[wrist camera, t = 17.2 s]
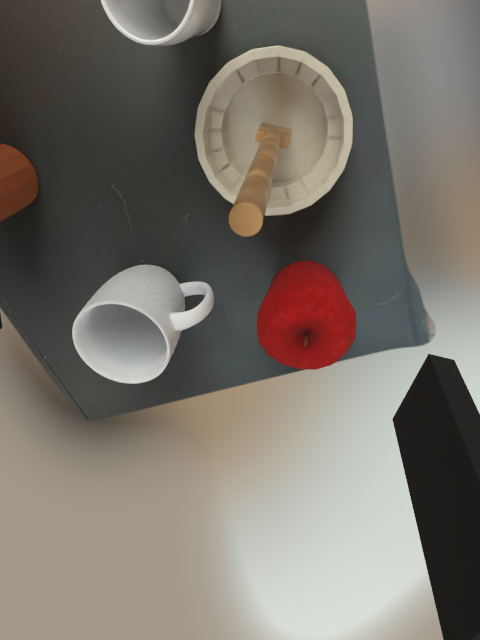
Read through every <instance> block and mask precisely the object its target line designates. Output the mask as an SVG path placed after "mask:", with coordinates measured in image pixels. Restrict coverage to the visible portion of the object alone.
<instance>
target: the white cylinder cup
mask: <svg viewBox="0 0 480 640" xmlns="http://www.w3.org/2000/svg"><path fill="white" fill-rule="evenodd" d="M101 3H102V6H103V8H104V10H105V12H106V14H107V16H108V17H109V19H110V20H111V22H112V23H113V25H114V26H115V27H116V28H117V29H118V30H119V31H120V32H121V33H122V34H123V35H125V36H126V37H128V38H129V39H131V40H133V41H135V42H138V43H141V44H145V45H151V46H170V45H175V44H179V43H181V42H184V41H186V40H188V39H190V38H192V37H194V36H200V35H203V34H205V33H207V32H208V31H209V30H210V29H211V28H212V27H213V26H214V25H215V23H216V22H217V20H218V17H219V14H220V10H221V0H101Z"/></svg>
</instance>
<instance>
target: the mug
mask: <svg viewBox="0 0 480 640" xmlns="http://www.w3.org/2000/svg"><path fill="white" fill-rule="evenodd" d="M198 294H203V295H205V298H204V299H203V301H202V302H201V303H200V304H199V305H198V306H197V307H195V308H194V309H191V310H189V311H185V299H184V297H185V296H189V295H198ZM213 305H214V294H213V291H212V289H211V287H210V286H209V285H208V284H207V283H205V282H187V283H181V284H179V282H178V281H177V279H176V278H175V277H174V276H173V275H172V274H171V273H170V272H169V271H167V270H166V269H164V268H161V267H159V266H155V265H147V264H146V265H138V266H134V267H130V268H128V269H126V270H123V271H122V272H120V273H118V274H117V275H115V276H113V277H112V278H111V279H109V280H108V281H107V282H106V283H105V284H103V285H102V287H101V288H100V289H98V291H97V292H96V293H95V294H94V295H93V296H92V298H91V299H90V300H89V301H88V302H87V304H86V305H85V306H84V308H83V309H82V310H81V311H80V313H79V314H78V316H77V317H76V319H75V321H74V324H73V329H72V336H73V342H74V345H75V348H76V350H77V352H78V353H79V355H80V357H81V358H82V359H83V360H84V362H85V363H86V364H87V365H88V366H89V367H90V368H92V369H93V370H94V371H95V372H97V373H98V374H100V375H102V376H104V377H106V378H108V379H110V380H113V381H117V382H121V383H130V384H136V383H143V382H147V381H150V380H152V379H154V378H156V377H157V376H159V375H160V374H161V373H162V372H163V371H164V369H165V368H166V366H167V364H168V362H169V360H170V358H171V356H172V354H173V353H174V350H175V347H176V345H177V342H178V339H179V338H180V333H181V331H182V330H184V329H187V328H189V327H192V326H194V325H195V324H197V323H199V322H200V321H202V320H203V319H204V318H205V317H206V316H207V315H208V314H209V313H210V311H211V310H212V308H213Z"/></svg>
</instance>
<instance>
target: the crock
mask: <svg viewBox="0 0 480 640" xmlns="http://www.w3.org/2000/svg"><path fill="white" fill-rule="evenodd" d="M38 190H39V183H38V177H37V174H36V171H35V169H34V167H33V166H32V164H31V163H30V161H29V160H28V159H27V158H26V157H25V156H24V155H23V154H22V153H21V152H20V151H18V150H17V149H15V148H13V147H11V146H9V145H5V144H0V223H1V222H3V221H4V220H6V219H8V218H9V217H11V216H13V215H14V214H16V213H18V212H20V211H21V210H23V209H24V208H26V207H27V206H29V205H30V204H32V203H33V202H34V200H35V199H36V197H37V194H38Z"/></svg>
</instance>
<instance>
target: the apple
mask: <svg viewBox="0 0 480 640" xmlns="http://www.w3.org/2000/svg"><path fill="white" fill-rule="evenodd" d="M257 333H258V341H259V343H260V345H261V346H262V347H263V349H264V350H265V351H266V353H267V354H268V355H269V356H270V357H272V358H273V359H275V360H276V361H278V362H280V363H281V364H283V365H286V366H290V367H294V368H298V369H319V368H322V367H325V366H329V365H332V364H334V363H335V362H336V361H338V360H339V359H340V358H341V357H342V356H344V355H345V354H346V353H347V352H348V350H349V348H350V347H351V345H352V343H353V342H354V340H355V333H356V313H355V310H354V308H353V307H352V305H351V303H350V302H349V300H348V298H347V296H346V294H345V292H344V290H343V288H342V286H341V284H340V282H339V281H338V279H337V277H336V276H335V274H334V273H333V272H332V271H330V270H329V269H328V268H327V267H326V266H324V265H322V264H319V263H316V262H313V261H296V262H294V263H292V264H290V265H288V266H286V267H283V268H282V269H281V270H280V271H279V272H278V273H277V274H276V275H275V276H274V278H273V281H272V283H271V285H270V288H269V290H268V292H267V294H266V296H265V298H264V300H263V302H262V305H261V307H260V309H259V312H258V314H257Z"/></svg>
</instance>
